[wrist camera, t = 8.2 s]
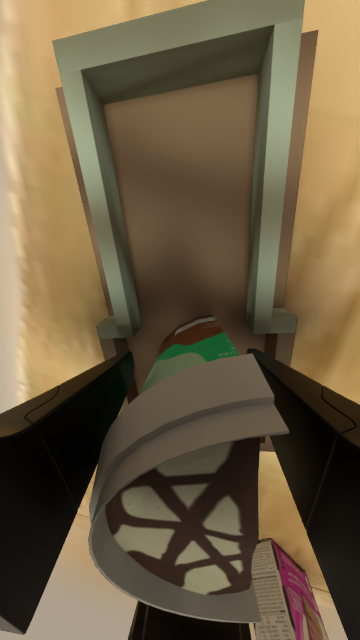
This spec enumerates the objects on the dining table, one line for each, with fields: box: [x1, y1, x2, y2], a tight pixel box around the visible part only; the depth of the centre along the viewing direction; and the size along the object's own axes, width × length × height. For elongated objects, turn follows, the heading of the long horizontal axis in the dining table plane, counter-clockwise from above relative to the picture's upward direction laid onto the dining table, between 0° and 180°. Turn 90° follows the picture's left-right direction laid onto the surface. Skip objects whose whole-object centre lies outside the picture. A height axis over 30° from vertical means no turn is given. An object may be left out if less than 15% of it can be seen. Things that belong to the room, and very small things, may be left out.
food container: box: [88, 314, 289, 623], centre depth 10 cm, size 12×6×10 cm, turn 6°
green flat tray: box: [52, 0, 318, 452], centre depth 12 cm, size 25×13×2 cm, turn 5°
